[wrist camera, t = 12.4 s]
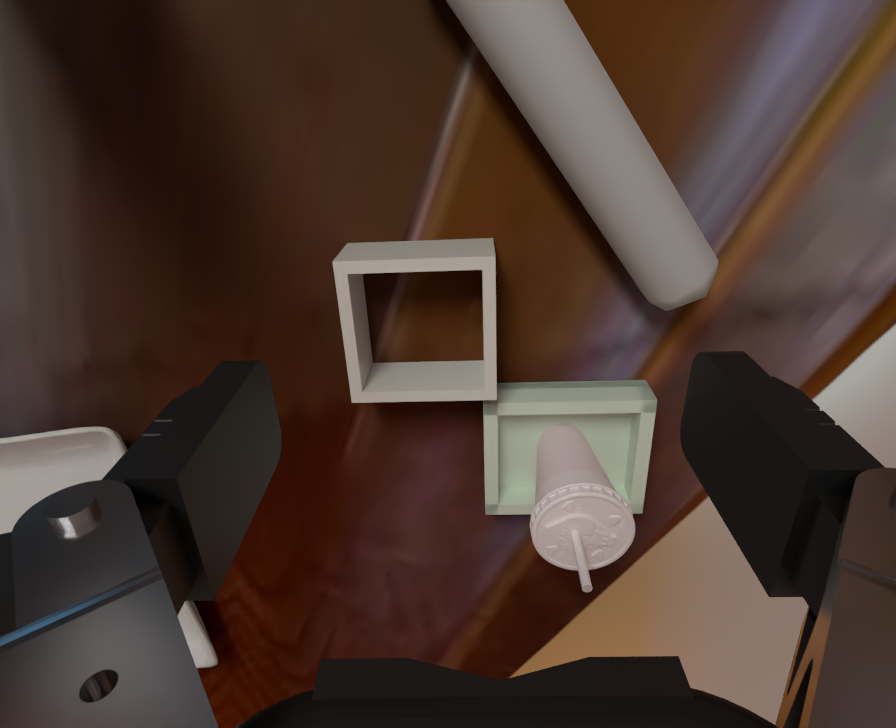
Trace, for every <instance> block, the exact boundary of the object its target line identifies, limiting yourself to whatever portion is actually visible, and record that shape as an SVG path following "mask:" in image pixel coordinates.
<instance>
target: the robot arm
mask: <svg viewBox="0 0 896 728" xmlns="http://www.w3.org/2000/svg"><path fill="white" fill-rule="evenodd" d="M680 435H681V444H682V449H683V452H684V455H685V457H686V459H687V461H688V462H689V464H690V466H691V467H692V469H693V471H694V472H695V474H696V476H697V477H698V479H699V481H700V482H701V484H702V486H703V487H704V489H705V491H706V492H707V494H708V496H709V497H710V499H711V501H712V502H713V504H714V506H715V507H716V509H717V510H718V512H719V514H720V516H721V517H722V519H723V521H724V522H725V524H726V526H727V527H728V529H729V531H730V532H731V534H732V536H733V537H734V539H735V540H736V542H737V544H738V546H739V547H740V549H741V551H742V552H743V554H744V556H745V558H746V559H747V561H748V563H749V564H750V565H751V567H752V569H753V571H754V573H755V574H756V576H757V577H758V579H759V581H760V583H761V584H762V586H763V587H764V589H765V591H766V593H767V594H768V596H769V597H803V598H804V599H805V601H806V602H807V604H808V605H809V607H808V609H807V612H806V615H805V618H804V620H803V623H802V627H801V630H800V634H799V638H798V642H797V646H796V650H795V653H794V657H793V661H792V665H791V668H790V672H789V676H788V680H787V684H786V687H785V691H784V695H783V699H782V703H781V706H780V710H779V714H778V717H777V721H776V725H774V724H772V723H771V722H769V721H767V720H765V719H764V718H762V717H760V716H758V715H757V714H755V713H753V712H751V711H749V710H748V709H746V708H743V707H741V706H739V705H737V704H735V703H732V702H730V701H728V700H726V699H724V698H720V697H718V696H715V695H712V694H709V693H706V692H704V691H700V690H696V689H692V688H690V686H689V683H688V680H687V678H686V675H685V673H684V670H683V667H682V665H681V662H680V659H679V657H678V656H672V657H671V656H669V657H668V656H665V657H664V656H663V657H588V658H584V659H581V660H577V661H573V662H569V663H565V664H561V665H558V666H554V667H550V668H547V669H543V670H539V671H535V672H531V673H527V674H524V675H520V676H516V677H512V678H508V679H491V678H486V677H482V676H478V675H474V674H470V673H466V672H462V671H458V670H454V669H450V668H446V667H441V666H437V665H433V664H429V663H425V662H421V661H417V660H413V659H409V658H377V659H321V662H320V667H319V671H318V675H317V679H316V684H315V688H314V690H310V691H307V692H303V693H300V694H297V695H295V696H292V697H290V698H287V699H285V700H282V701H280V702H278V703H276V704H274V705H272V706H270V707H268V708H266V709H264V710H262V711H260V712H258V713H257V714H255V715H254V716H252V717H251V718H249V719H247V720H246V721H244V722H243V723H241V724H240V725H238V726H237V727H236V728H896V468H885V467H884V466H883V465H882V464H881V463H880V462H879V461H878V460H876V459H875V458H874V457H873V456H872V455H871V454H870V453H869V452H868V451H867V450H866V449H864V448H863V447H862V446H861V445H860V444H859V443H858V442H857V441H856V440H855V439H853V438H852V437H851V436H850V435H849V434H848V433H847V432H846V431H845V430H844V429H843V428H841V427H840V426H839V425H835V421H834V420H833V419H832V418H830V417H829V416H828V415H827V414H826V413H825V412H824V411H820V409H819V406H817V405H816V404H815V403H814V402H813V401H812V400H811V399H810V398H809V397H808V396H807V395H805V394H804V393H803V392H802V391H801V390H799V389H797V388H795V387H793V386H791V385H789V384H787V383H785V382H783V381H781V380H780V379H778V378H776V377H770V376H769V375H768V374H767V373H766V372H765V371H764V370H763V369H762V368H761V367H760V366H759V365H758V364H757V363H756V362H755V361H754V360H753V359H752V358H751V357H750V356H748V355H747V354H746V353H745V352H743V351H725V352H699V353H698V354H697V355H696V356H695V358H694V360H693V363H692V367H691V372H690V378H689V383H688V389H687V394H686V399H685V405H684V410H683V416H682V421H681V430H680ZM281 443H282V440H281V429H280V424H279V419H278V414H277V409H276V404H275V399H274V394H273V388H272V383H271V378H270V374H269V370H268V367H267V365H266V364H265V362H264V361H222V362H220V363H219V364H218V366H217V367H216V368H215V369H214V370H213V372H212V373H211V374H210V375H209V376H208V378H207V379H206V380H205V381H204V383H203V384H202V385H201V386H200V387H193V388H192V389H190V390H189V391H187V392H185V393H184V394H182V395H180V396H179V397H177V398H176V399H174V400H172V401H171V402H169V404H168V405H167V406H166V407H165V408H164V409H163V410H162V412H161V413H160V414H159V415H158V416H157V417H156V418H155V422H152V423H151V424H150V425H149V426H148V427H147V429H146V430H145V431H144V432H143V436H140V437H139V438H138V439H137V440H136V441H135V442H134V443H133V444H132V446H131V447H130V448H129V449H128V450H127V451H126V452H125V454H124V455H123V456H122V457H121V458H120V459H119V460H118V462H117V463H116V464H115V465H114V466H113V467H112V468H111V469H110V471H109V472H108V473H107V474H106V475H105V476H104V477H103V479H102V480H96V481H89V482H84V483H80V484H76V485H73V486H70V487H67V488H64V489H62V490H59V491H57V492H55V493H53V494H51V495H49V496H47V497H45V498H44V499H42V500H40V501H39V502H37V503H36V504H35V505H33V506H32V507H31V508H29V509H28V510H27V511H26V512H25V513H24V514H23V515H22V516H21V517H20V518H19V519H18V521H17V522H16V524H15V525H14V527H13V530H12V532H9V533H4V534H0V728H218V726H217V723H216V720H215V717H214V715H213V712H212V709H211V706H210V704H209V701H208V698H207V695H206V693H205V690H204V687H203V685H202V682H201V679H200V676H199V674H198V671H197V668H196V665H195V663H194V660H193V657H192V655H191V652H190V649H189V646H188V644H187V641H186V638H185V635H184V633H183V630H182V627H181V624H180V622H179V619H178V614H179V612H180V610H181V608H182V606H183V604H184V602H185V601H215V598H216V596H217V594H218V592H219V590H220V588H221V585H222V583H223V581H224V579H225V577H226V575H227V572H228V570H229V568H230V566H231V564H232V562H233V560H234V557H235V555H236V553H237V551H238V549H239V547H240V544H241V542H242V540H243V538H244V536H245V534H246V531H247V529H248V527H249V525H250V523H251V521H252V518H253V516H254V514H255V512H256V510H257V508H258V505H259V503H260V501H261V499H262V497H263V495H264V492H265V490H266V488H267V486H268V484H269V482H270V480H271V477H272V475H273V473H274V471H275V469H276V467H277V464H278V462H279V459H280V454H281Z"/></svg>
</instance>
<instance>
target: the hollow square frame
mask: <svg viewBox="0 0 896 728" xmlns="http://www.w3.org/2000/svg"><path fill="white" fill-rule="evenodd" d="M333 269H334V276H335V283H336V291H337V298H338V305H339V312H340V320H341V327H342V334H343V342H344V349H345V356H346V363H347V371H348V378H349V385H350V393H351V400H352V403H370V402H422V401H474V400H497V367H496V256H495V248H494V241H493V238H482V239H454V240H425V241H397V242H369V243H347V244H346V246H345V247H344V248H343V249H342V251H341V252H340V253H339V254H338V256H337V257H336V258H335V259H334V260H333ZM459 270H482V309H483V360H480V361H437V362H394V363H373V359H372V350H371V342H370V333H369V324H368V315H367V307H366V298H365V289H364V280H363V274H366V273H397V272H428V271H459Z"/></svg>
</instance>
